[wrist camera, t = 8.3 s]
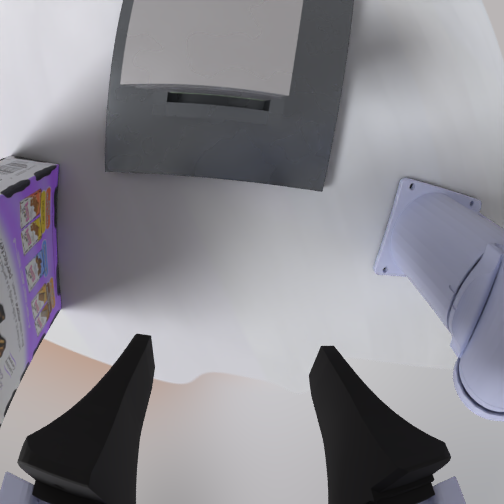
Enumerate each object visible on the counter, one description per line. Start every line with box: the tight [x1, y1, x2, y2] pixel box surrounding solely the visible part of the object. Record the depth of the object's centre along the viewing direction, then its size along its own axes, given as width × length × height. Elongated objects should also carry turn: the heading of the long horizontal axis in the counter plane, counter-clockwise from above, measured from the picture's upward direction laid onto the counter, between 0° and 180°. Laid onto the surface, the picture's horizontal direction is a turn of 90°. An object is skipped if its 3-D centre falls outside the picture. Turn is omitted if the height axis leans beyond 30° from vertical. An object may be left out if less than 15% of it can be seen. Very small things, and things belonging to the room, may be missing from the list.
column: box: [120, 0, 303, 101], centre depth 8 cm, size 4×4×7 cm
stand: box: [105, 0, 354, 192], centre depth 14 cm, size 14×14×4 cm
